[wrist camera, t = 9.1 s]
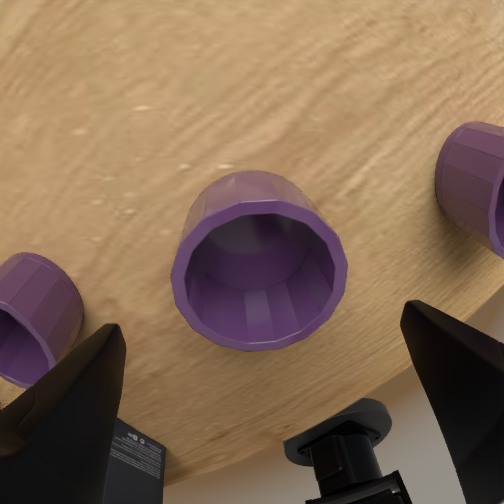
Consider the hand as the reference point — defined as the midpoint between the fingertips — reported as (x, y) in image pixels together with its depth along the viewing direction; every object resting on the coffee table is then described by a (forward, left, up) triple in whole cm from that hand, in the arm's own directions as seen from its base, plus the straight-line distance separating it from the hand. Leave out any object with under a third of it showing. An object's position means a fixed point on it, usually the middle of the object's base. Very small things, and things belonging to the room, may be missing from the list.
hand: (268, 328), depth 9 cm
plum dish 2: (0, 0, -7) cm, 7 cm away
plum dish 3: (-7, -11, -7) cm, 15 cm away
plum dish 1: (+7, +12, -7) cm, 15 cm away
